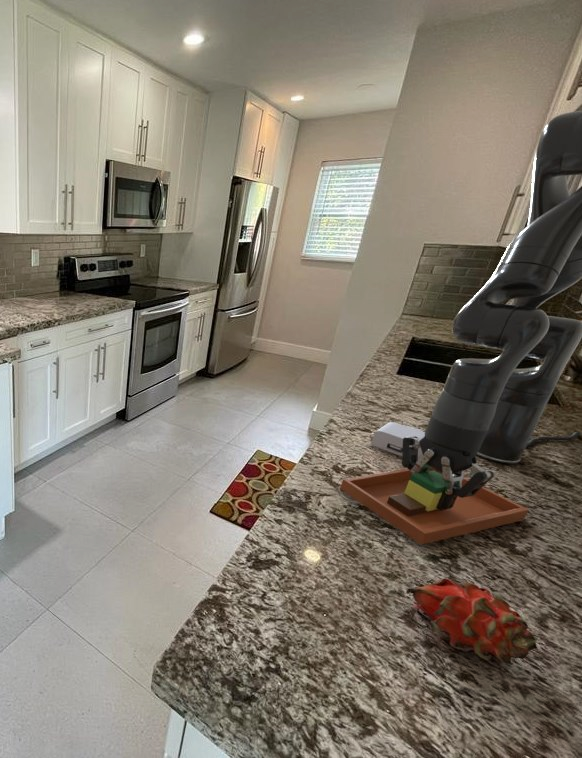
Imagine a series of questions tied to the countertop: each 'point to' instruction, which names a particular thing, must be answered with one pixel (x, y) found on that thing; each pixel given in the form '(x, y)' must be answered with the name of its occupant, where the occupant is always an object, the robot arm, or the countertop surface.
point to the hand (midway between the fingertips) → (427, 499)
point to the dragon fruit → (474, 619)
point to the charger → (395, 437)
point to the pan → (434, 524)
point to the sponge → (426, 488)
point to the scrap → (406, 504)
